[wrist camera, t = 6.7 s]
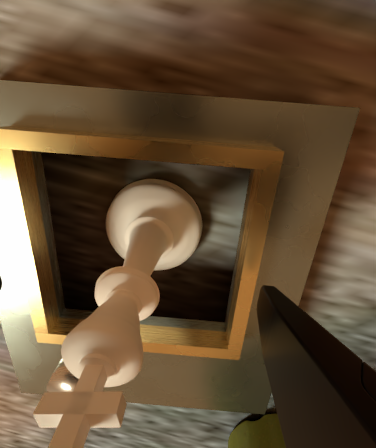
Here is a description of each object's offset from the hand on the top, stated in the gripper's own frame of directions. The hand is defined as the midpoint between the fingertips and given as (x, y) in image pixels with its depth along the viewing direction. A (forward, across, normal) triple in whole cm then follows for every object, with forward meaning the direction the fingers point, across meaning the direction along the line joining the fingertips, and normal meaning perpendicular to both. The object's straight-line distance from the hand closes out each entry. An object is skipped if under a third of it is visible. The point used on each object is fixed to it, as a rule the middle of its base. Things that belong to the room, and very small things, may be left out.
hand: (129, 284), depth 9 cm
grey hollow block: (+5, 0, +2) cm, 6 cm away
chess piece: (+5, 0, 0) cm, 5 cm away
